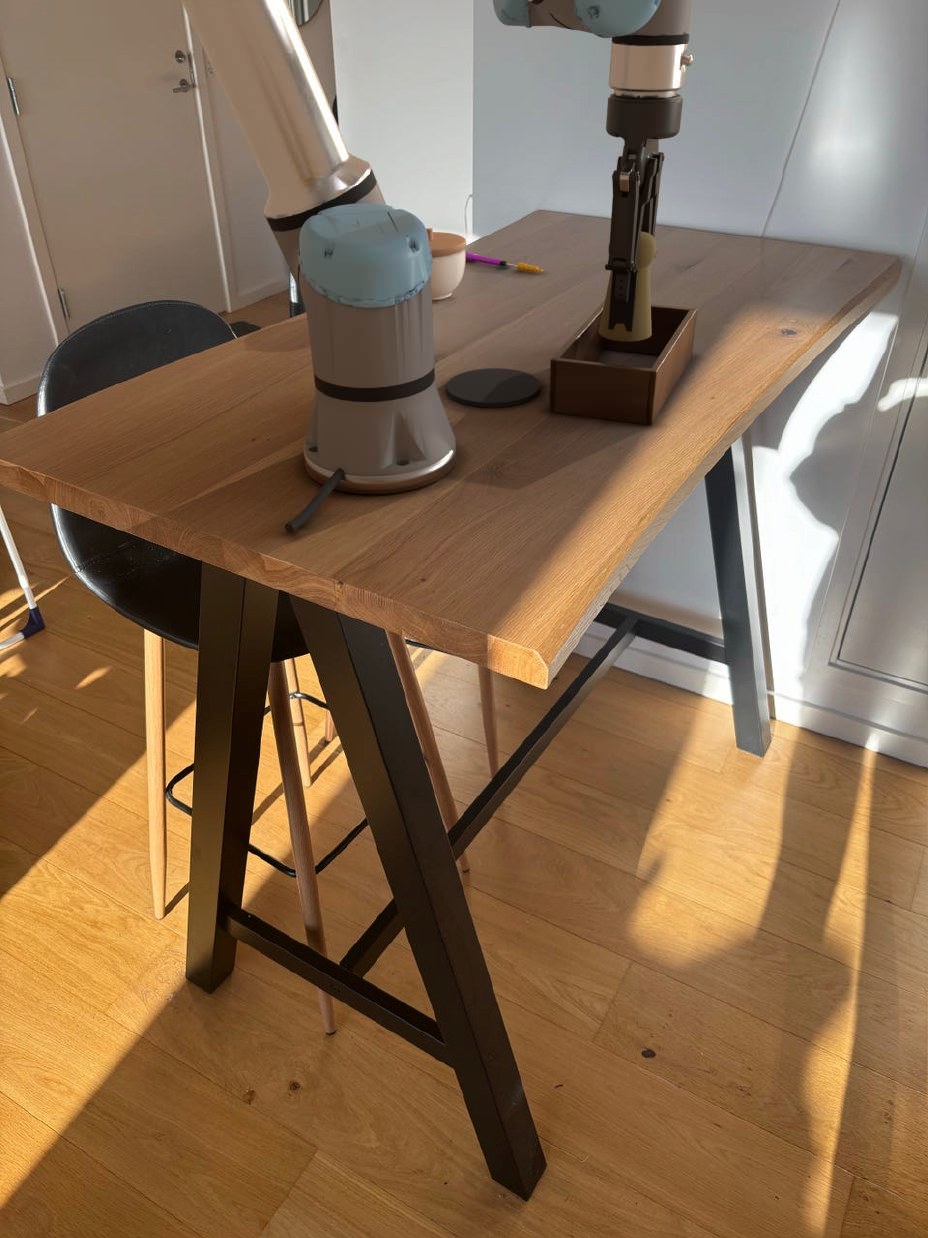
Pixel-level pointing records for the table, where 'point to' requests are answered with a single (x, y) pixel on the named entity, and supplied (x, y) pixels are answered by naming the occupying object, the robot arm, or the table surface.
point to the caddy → (621, 369)
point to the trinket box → (446, 262)
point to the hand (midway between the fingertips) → (625, 322)
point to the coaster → (493, 387)
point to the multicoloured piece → (500, 262)
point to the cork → (643, 298)
